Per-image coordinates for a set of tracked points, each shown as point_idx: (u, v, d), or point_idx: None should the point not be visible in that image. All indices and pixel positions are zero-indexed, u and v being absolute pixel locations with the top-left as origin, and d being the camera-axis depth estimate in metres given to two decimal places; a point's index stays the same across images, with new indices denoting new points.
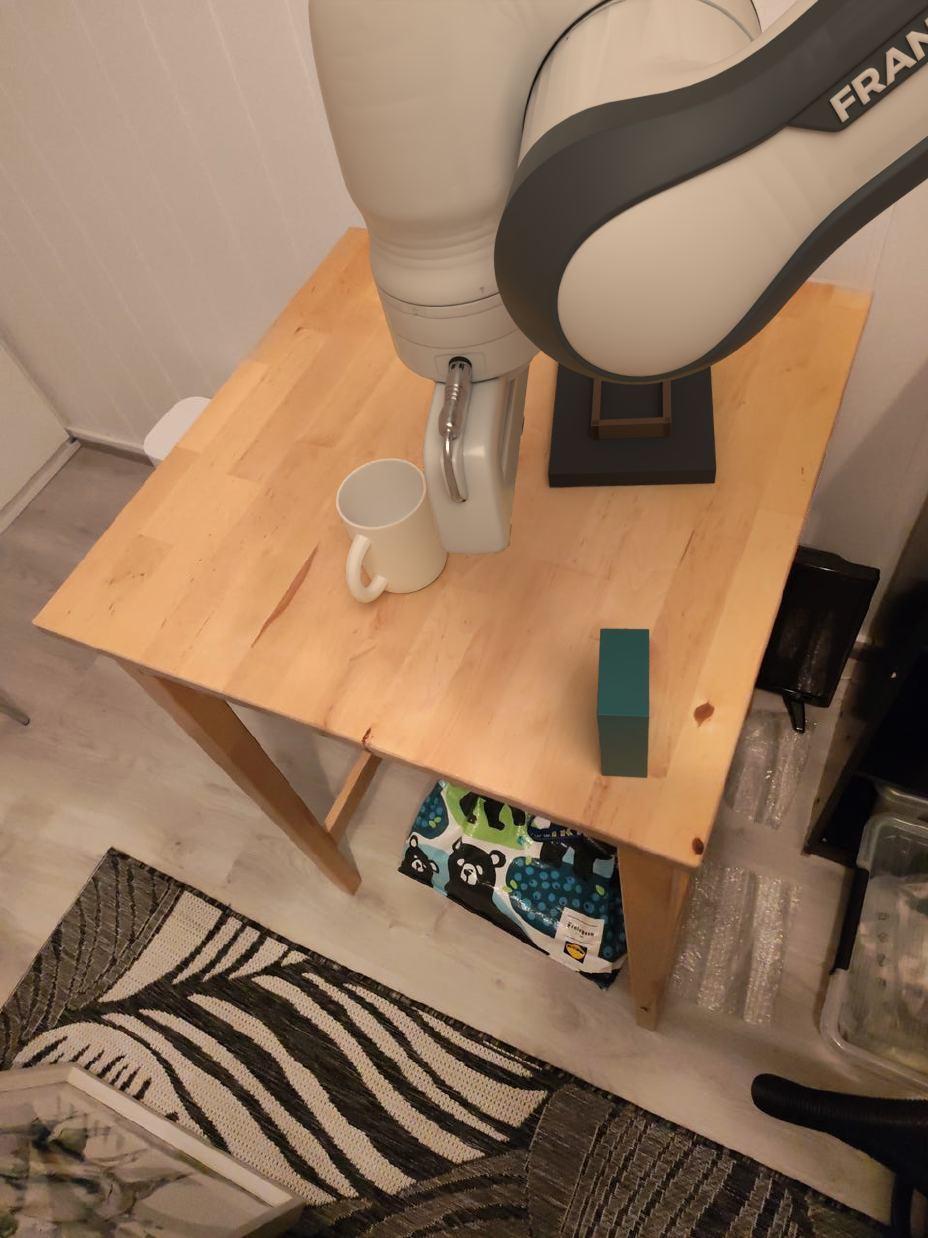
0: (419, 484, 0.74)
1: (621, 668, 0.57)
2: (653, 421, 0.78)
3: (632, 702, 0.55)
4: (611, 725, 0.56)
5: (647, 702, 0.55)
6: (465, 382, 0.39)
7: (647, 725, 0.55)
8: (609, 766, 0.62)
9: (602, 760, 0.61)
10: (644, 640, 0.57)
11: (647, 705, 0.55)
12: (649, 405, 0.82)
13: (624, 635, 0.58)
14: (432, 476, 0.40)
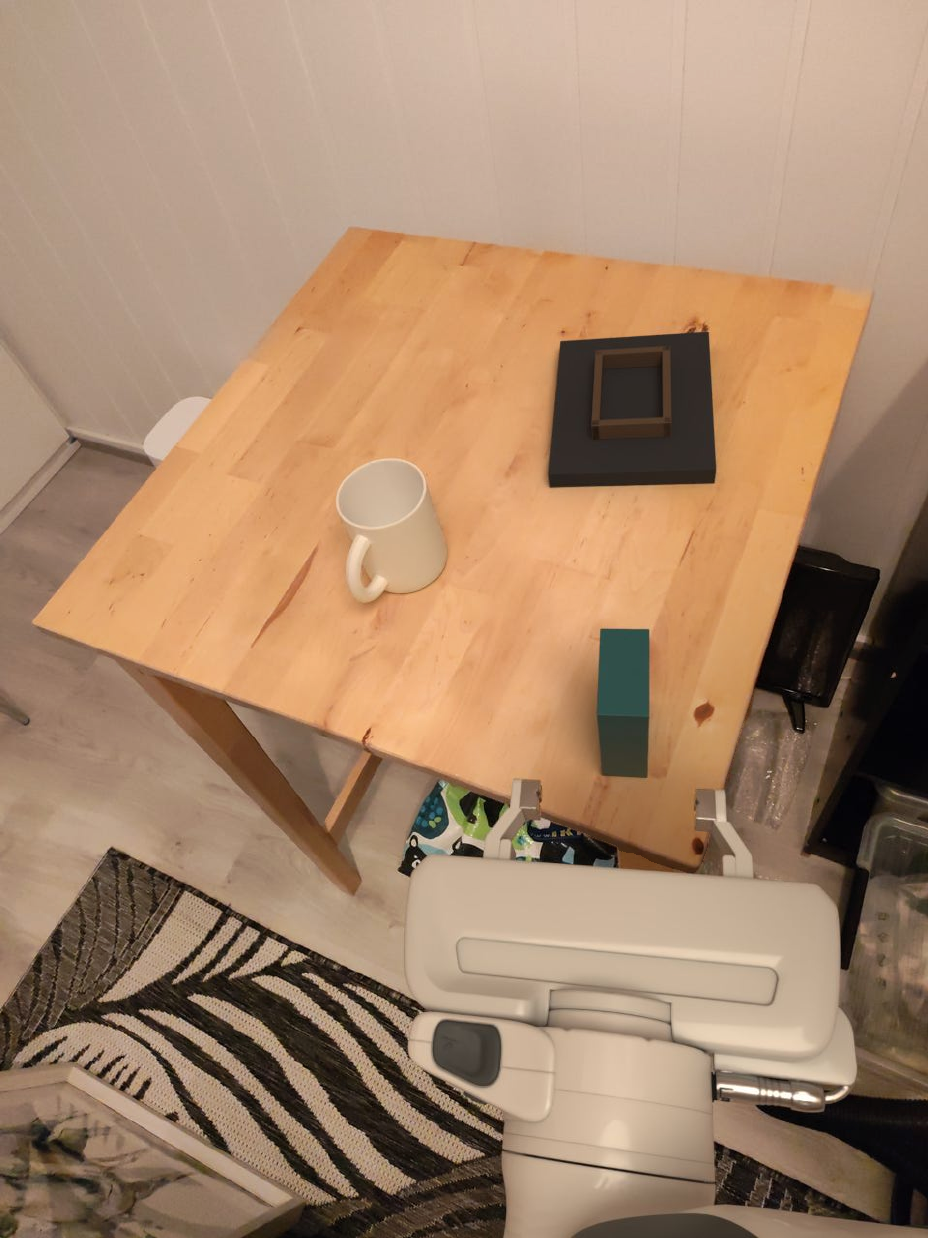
0: (419, 484, 0.74)
1: (621, 668, 0.57)
2: (653, 421, 0.78)
3: (632, 702, 0.55)
4: (611, 725, 0.56)
5: (647, 702, 0.55)
6: (748, 1096, 0.34)
7: (647, 725, 0.55)
8: (609, 766, 0.62)
9: (602, 760, 0.61)
10: (644, 640, 0.57)
11: (647, 705, 0.55)
12: (649, 405, 0.82)
13: (624, 635, 0.58)
14: None
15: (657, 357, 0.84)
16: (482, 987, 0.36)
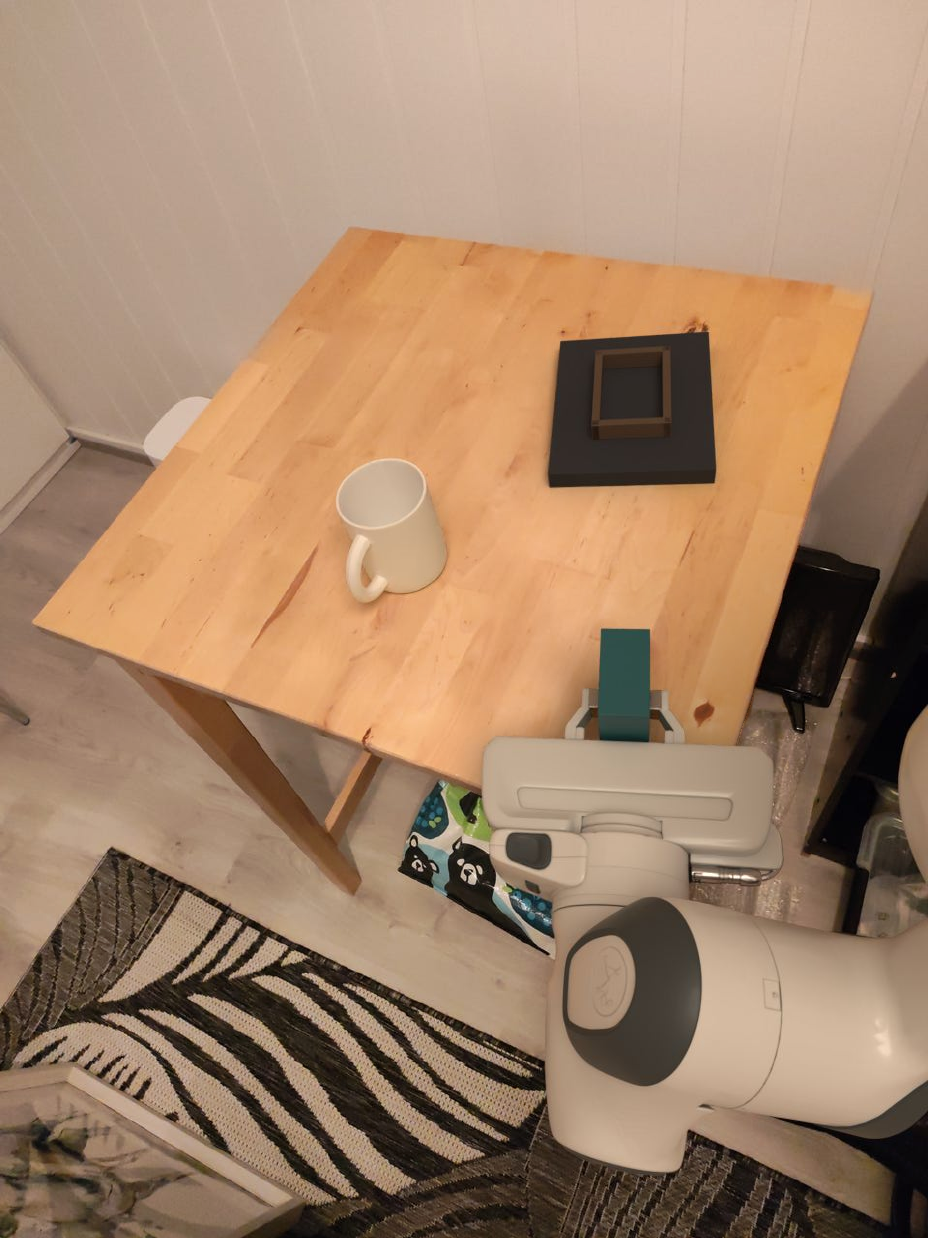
0: (419, 484, 0.74)
1: (622, 668, 0.57)
2: (653, 421, 0.78)
3: (633, 702, 0.55)
4: (612, 725, 0.56)
5: (648, 702, 0.55)
6: (712, 877, 0.52)
7: (648, 725, 0.55)
8: None
9: None
10: (645, 640, 0.57)
11: (648, 705, 0.55)
12: (649, 405, 0.82)
13: (625, 634, 0.58)
14: None
15: (657, 357, 0.84)
16: (536, 815, 0.55)
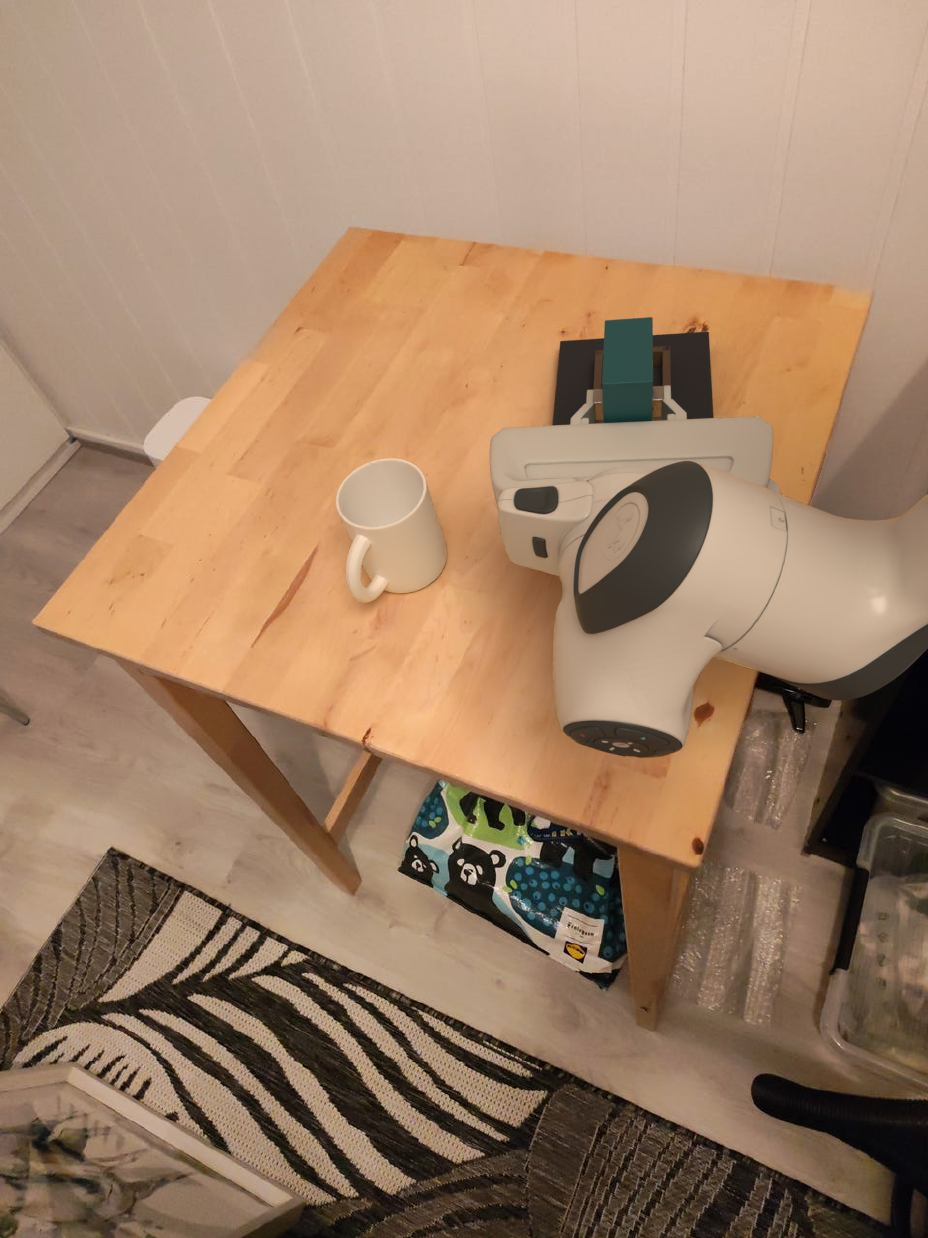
0: (419, 484, 0.74)
1: (626, 347, 0.58)
2: None
3: (636, 372, 0.57)
4: (616, 400, 0.58)
5: (651, 370, 0.57)
6: None
7: (651, 396, 0.57)
8: None
9: None
10: (647, 325, 0.59)
11: (651, 373, 0.56)
12: None
13: (628, 323, 0.60)
14: None
15: (657, 357, 0.84)
16: None
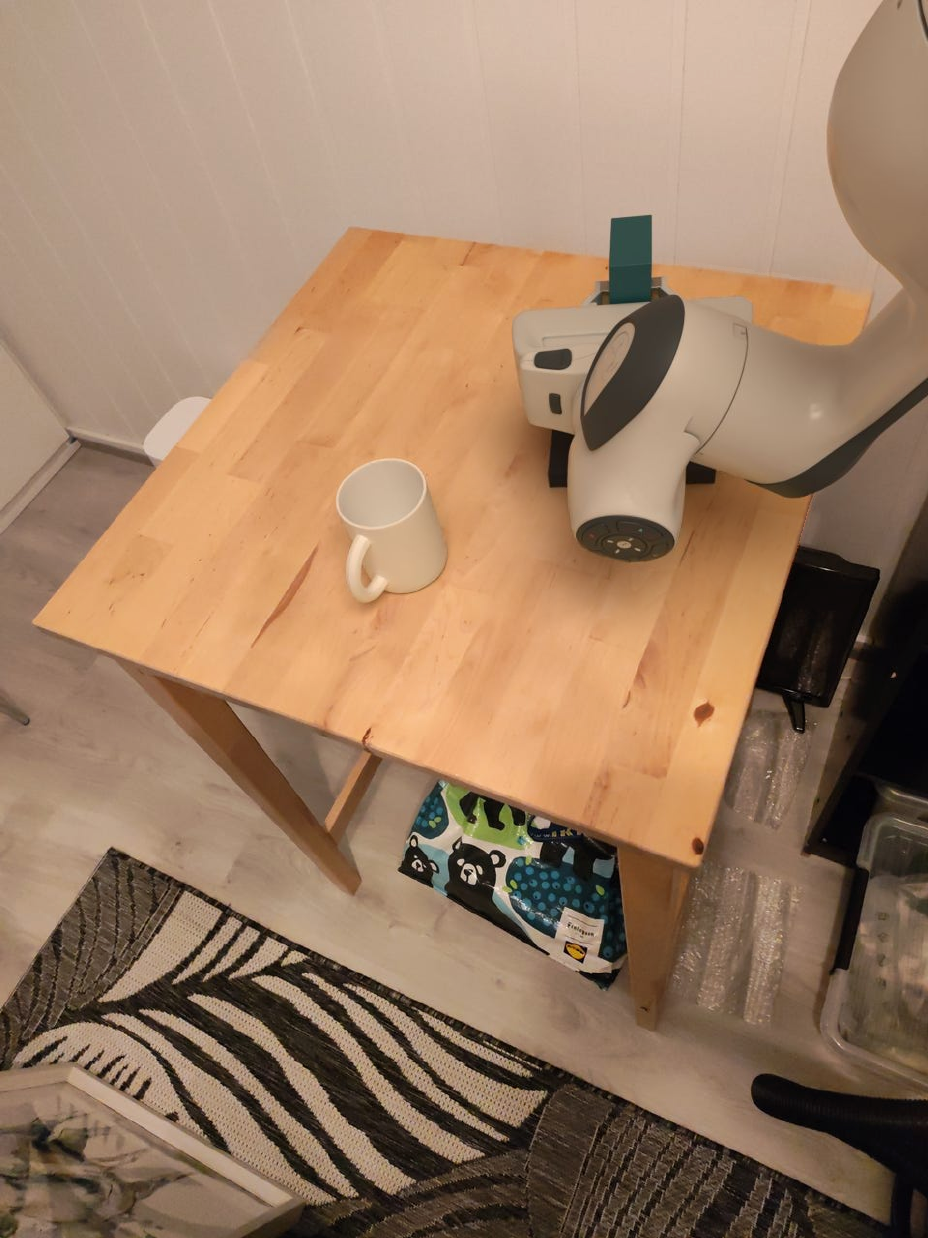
0: (419, 484, 0.74)
1: (629, 238, 0.68)
2: None
3: (638, 256, 0.67)
4: (620, 282, 0.68)
5: (650, 255, 0.67)
6: None
7: (650, 278, 0.67)
8: None
9: None
10: (648, 220, 0.69)
11: (650, 257, 0.67)
12: None
13: (630, 219, 0.70)
14: None
15: None
16: None
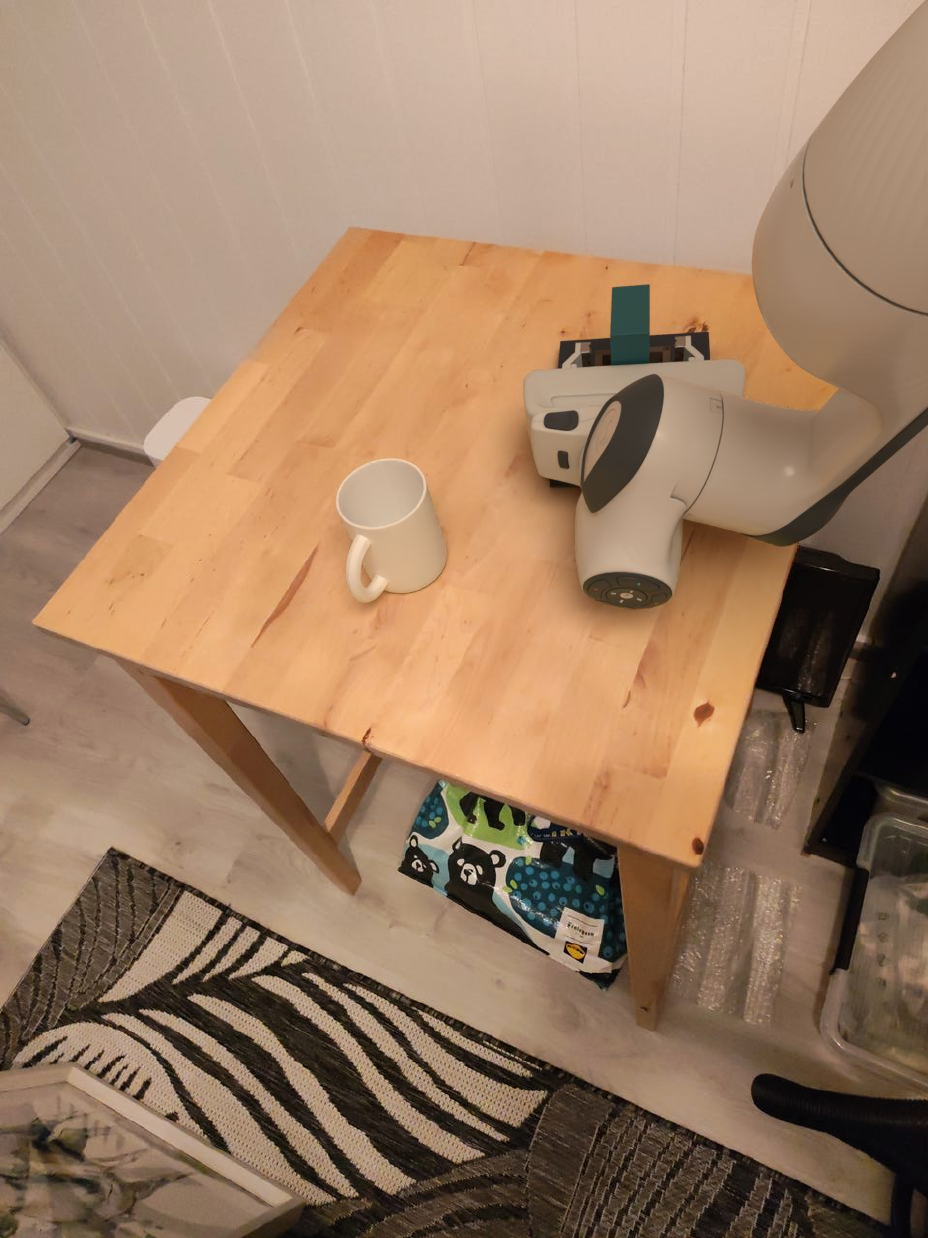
0: (419, 484, 0.74)
1: (628, 307, 0.74)
2: None
3: (637, 325, 0.73)
4: (621, 349, 0.74)
5: (648, 324, 0.73)
6: None
7: (648, 345, 0.73)
8: None
9: None
10: (646, 290, 0.75)
11: (648, 326, 0.72)
12: None
13: (630, 289, 0.76)
14: None
15: (657, 357, 0.84)
16: None
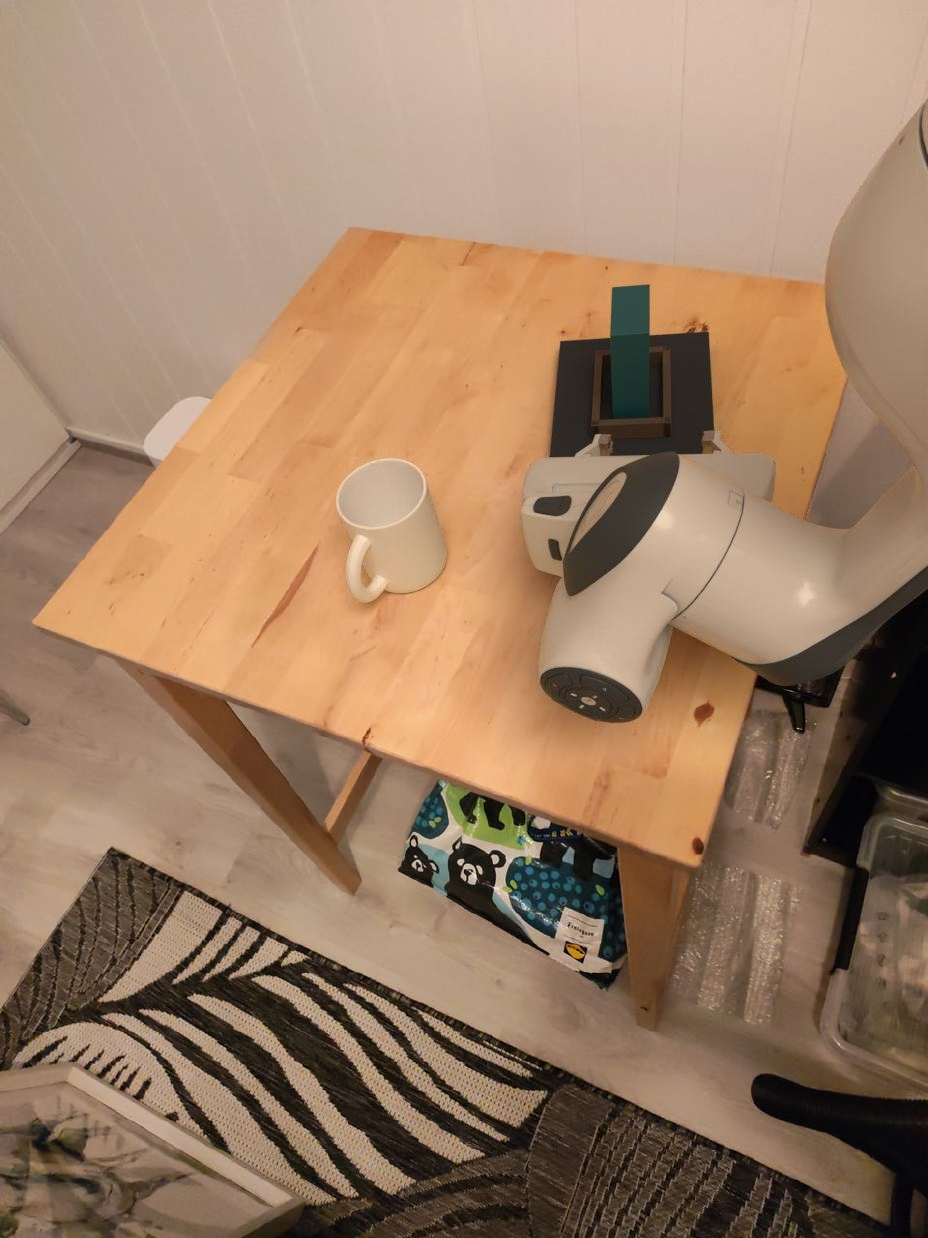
0: (419, 484, 0.74)
1: (628, 307, 0.74)
2: (653, 421, 0.78)
3: (637, 325, 0.73)
4: (621, 349, 0.74)
5: (648, 324, 0.73)
6: None
7: (648, 345, 0.73)
8: (618, 409, 0.80)
9: (613, 401, 0.79)
10: (646, 290, 0.75)
11: (648, 326, 0.72)
12: (649, 405, 0.82)
13: (630, 289, 0.76)
14: None
15: (657, 357, 0.84)
16: None
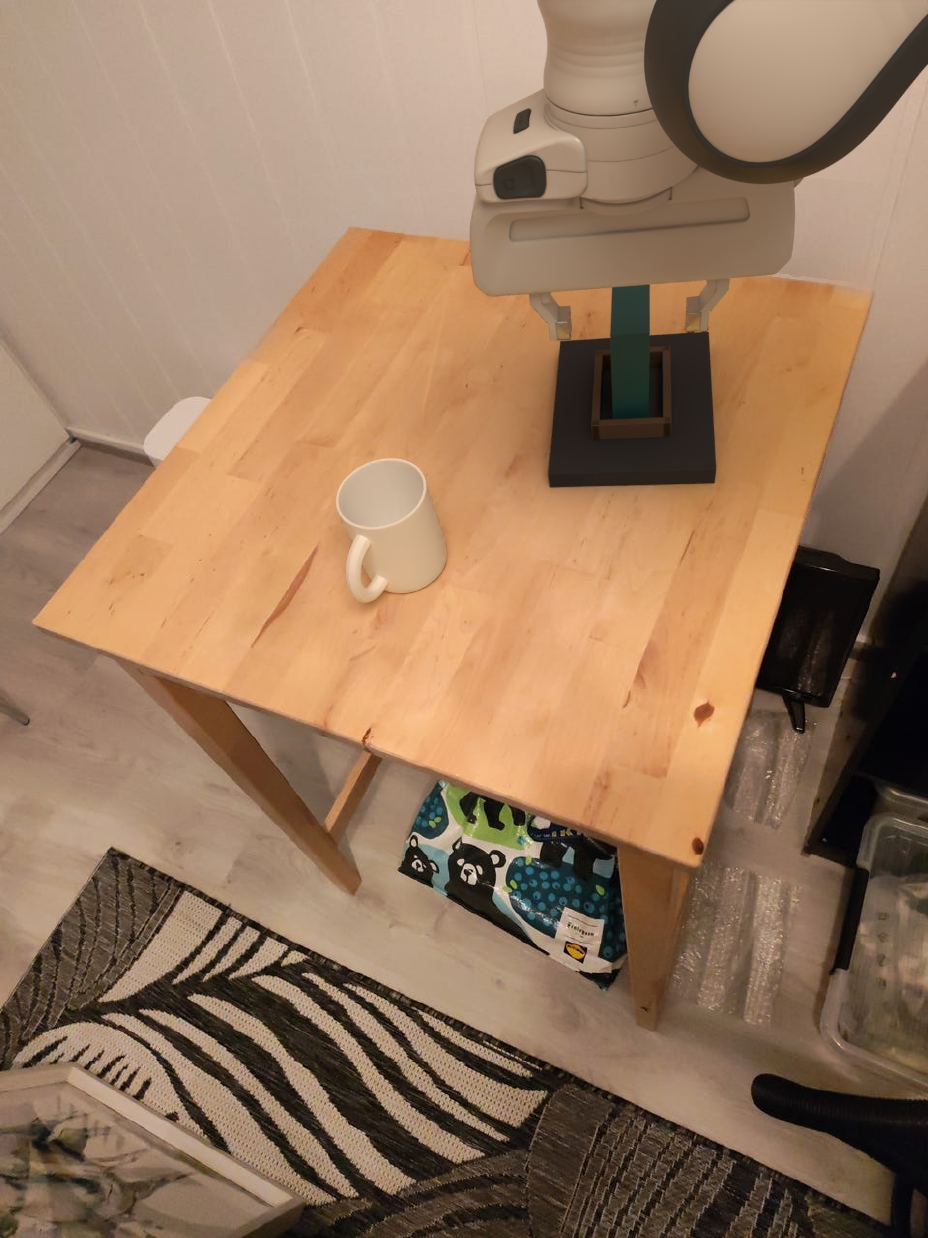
0: (419, 484, 0.74)
1: (628, 307, 0.74)
2: (653, 421, 0.78)
3: (637, 325, 0.73)
4: (621, 349, 0.74)
5: (648, 324, 0.73)
6: None
7: (648, 345, 0.73)
8: (618, 409, 0.80)
9: (613, 401, 0.79)
10: (646, 290, 0.75)
11: (648, 326, 0.72)
12: (649, 405, 0.82)
13: (630, 289, 0.76)
14: None
15: (657, 357, 0.84)
16: None
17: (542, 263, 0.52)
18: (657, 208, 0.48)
